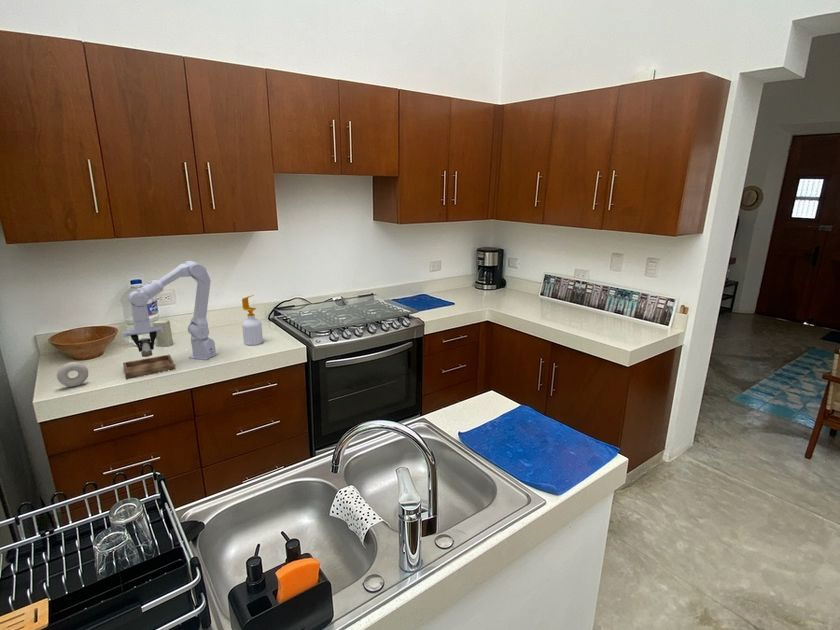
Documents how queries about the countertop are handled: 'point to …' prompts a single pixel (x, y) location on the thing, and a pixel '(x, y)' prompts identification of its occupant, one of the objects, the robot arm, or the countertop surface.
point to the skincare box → (163, 333)
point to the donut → (72, 366)
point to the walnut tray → (148, 366)
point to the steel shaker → (145, 347)
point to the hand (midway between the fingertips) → (146, 350)
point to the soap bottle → (251, 326)
